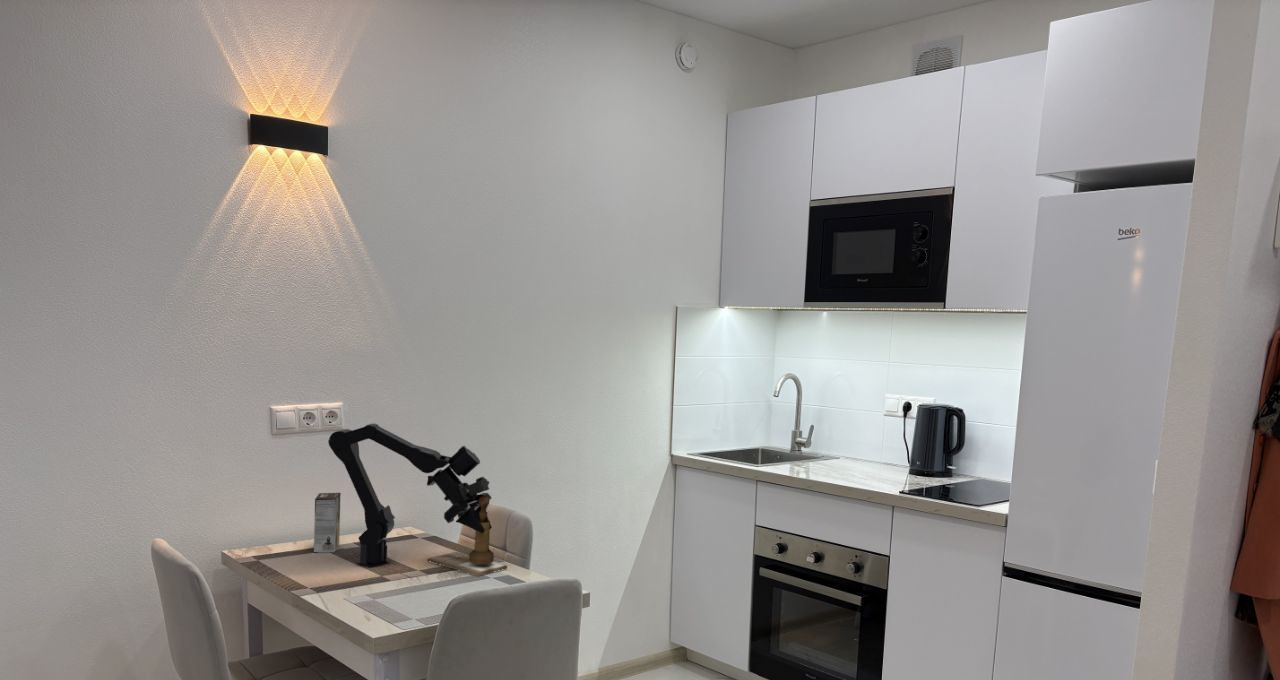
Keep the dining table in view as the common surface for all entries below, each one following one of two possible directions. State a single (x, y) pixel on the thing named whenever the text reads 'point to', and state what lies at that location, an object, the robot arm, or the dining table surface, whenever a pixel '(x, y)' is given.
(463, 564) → the grey brown flat rectangle
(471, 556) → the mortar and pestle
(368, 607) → the dining table surface
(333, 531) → the coffee box
